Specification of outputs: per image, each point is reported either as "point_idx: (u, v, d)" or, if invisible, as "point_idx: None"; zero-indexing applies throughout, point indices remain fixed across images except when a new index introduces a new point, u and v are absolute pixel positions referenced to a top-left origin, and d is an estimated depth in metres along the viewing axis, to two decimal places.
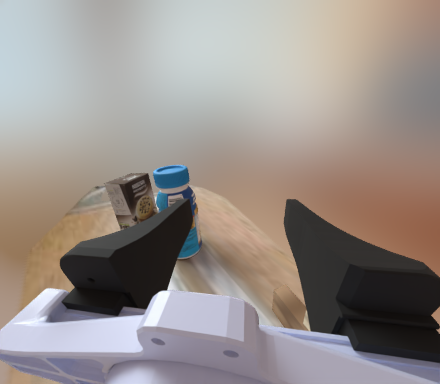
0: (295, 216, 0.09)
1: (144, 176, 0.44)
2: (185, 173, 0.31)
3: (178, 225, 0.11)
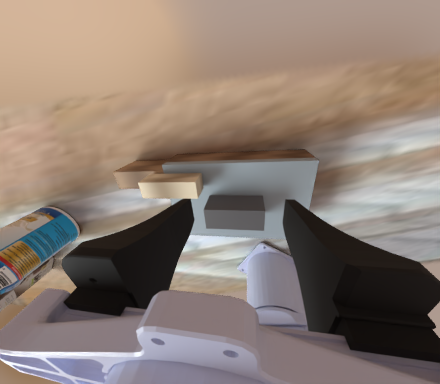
0: (293, 216, 0.09)
1: None
2: None
3: (180, 225, 0.11)
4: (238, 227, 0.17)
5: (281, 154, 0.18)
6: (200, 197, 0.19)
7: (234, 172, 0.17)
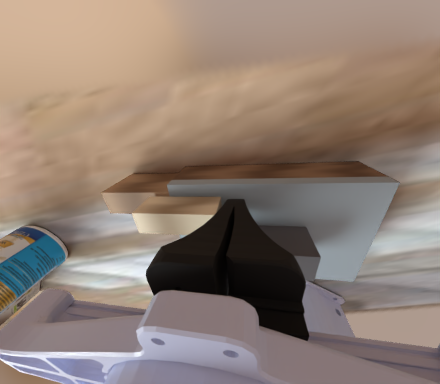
0: (234, 215, 0.10)
1: None
2: None
3: (232, 227, 0.10)
4: None
5: (331, 169, 0.13)
6: None
7: (269, 196, 0.12)
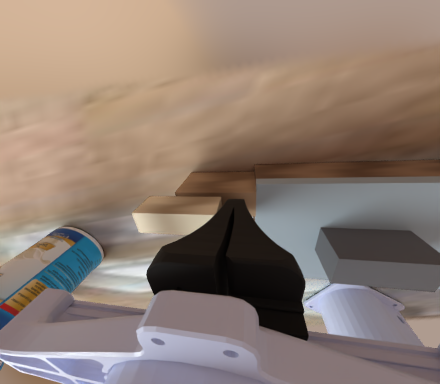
0: (234, 215, 0.10)
1: None
2: None
3: (232, 227, 0.10)
4: (389, 284, 0.11)
5: (436, 167, 0.12)
6: (304, 229, 0.13)
7: (376, 197, 0.11)
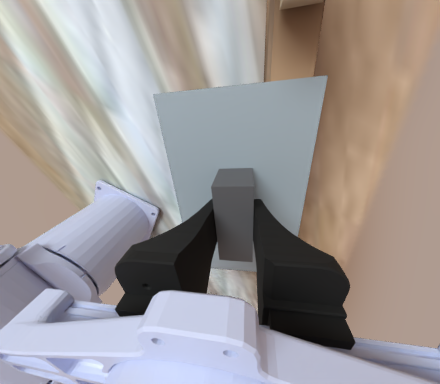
0: (254, 215, 0.10)
1: None
2: None
3: (213, 226, 0.10)
4: (221, 233, 0.11)
5: None
6: (248, 151, 0.11)
7: (289, 204, 0.12)
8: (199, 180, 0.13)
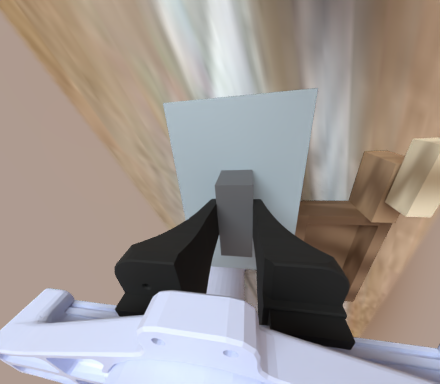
0: (254, 215, 0.10)
1: None
2: None
3: (213, 226, 0.10)
4: (223, 229, 0.12)
5: None
6: (248, 155, 0.12)
7: (286, 203, 0.13)
8: (203, 181, 0.14)
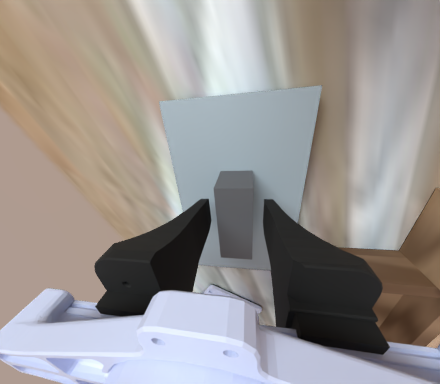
0: (268, 215, 0.10)
1: None
2: None
3: (200, 226, 0.10)
4: (223, 231, 0.11)
5: None
6: (248, 155, 0.12)
7: (287, 205, 0.13)
8: (201, 182, 0.13)
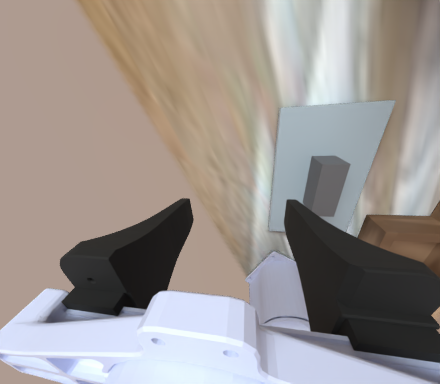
0: (295, 216, 0.09)
1: None
2: None
3: (178, 225, 0.11)
4: (319, 196, 0.17)
5: None
6: (335, 144, 0.17)
7: (355, 180, 0.19)
8: (295, 164, 0.19)
